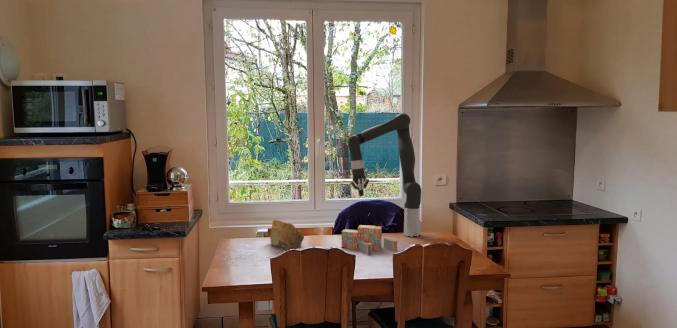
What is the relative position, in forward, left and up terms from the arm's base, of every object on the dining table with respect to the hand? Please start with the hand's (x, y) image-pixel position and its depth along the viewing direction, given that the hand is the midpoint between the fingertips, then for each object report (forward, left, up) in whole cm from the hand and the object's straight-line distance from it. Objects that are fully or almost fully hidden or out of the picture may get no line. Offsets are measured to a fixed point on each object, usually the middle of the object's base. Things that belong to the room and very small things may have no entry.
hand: (361, 195), depth 277 cm
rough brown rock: (+49, +5, -25) cm, 55 cm away
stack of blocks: (+14, +25, -25) cm, 38 cm away
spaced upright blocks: (+9, +34, -24) cm, 43 cm away
